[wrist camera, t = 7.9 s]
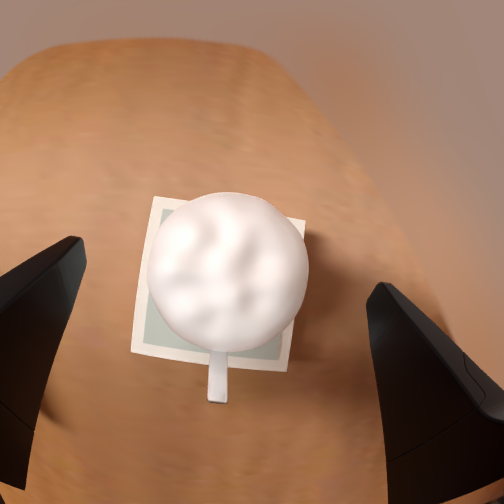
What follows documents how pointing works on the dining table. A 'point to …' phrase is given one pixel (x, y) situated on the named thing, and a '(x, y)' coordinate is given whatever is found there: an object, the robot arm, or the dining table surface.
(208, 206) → the milkshake
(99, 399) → the dining table surface
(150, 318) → the tile base
